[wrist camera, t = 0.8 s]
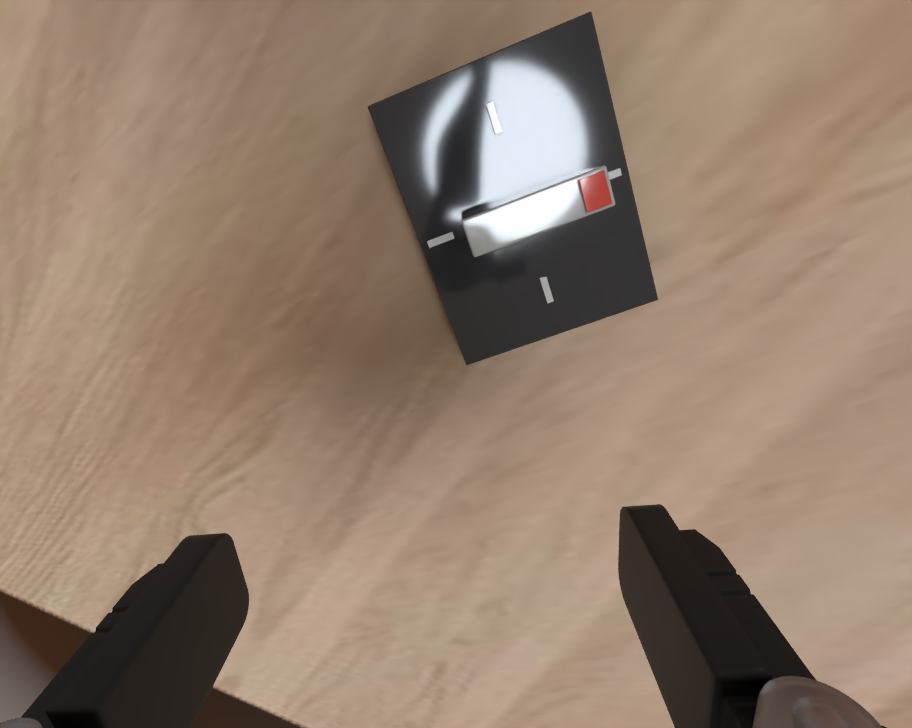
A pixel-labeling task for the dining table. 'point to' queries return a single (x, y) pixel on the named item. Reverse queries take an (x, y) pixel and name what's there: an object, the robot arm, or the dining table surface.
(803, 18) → the dining table surface
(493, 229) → the knob
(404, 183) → the dark grey base plate
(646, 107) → the dining table surface
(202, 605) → the robot arm
